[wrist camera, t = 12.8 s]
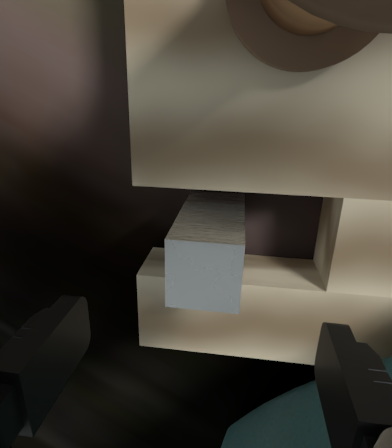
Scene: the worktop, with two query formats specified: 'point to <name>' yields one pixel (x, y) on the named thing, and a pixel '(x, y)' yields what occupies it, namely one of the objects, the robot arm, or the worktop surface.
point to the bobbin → (308, 30)
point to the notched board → (265, 177)
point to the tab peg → (206, 253)
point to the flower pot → (285, 421)
